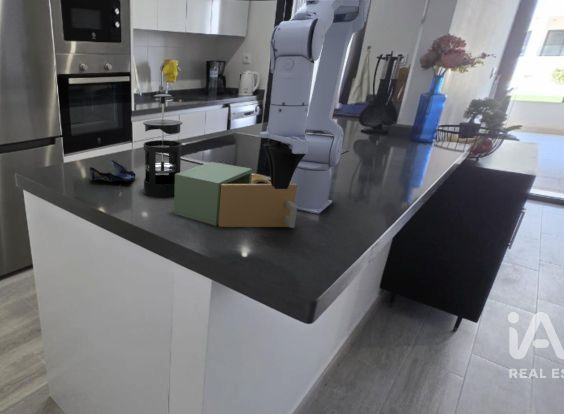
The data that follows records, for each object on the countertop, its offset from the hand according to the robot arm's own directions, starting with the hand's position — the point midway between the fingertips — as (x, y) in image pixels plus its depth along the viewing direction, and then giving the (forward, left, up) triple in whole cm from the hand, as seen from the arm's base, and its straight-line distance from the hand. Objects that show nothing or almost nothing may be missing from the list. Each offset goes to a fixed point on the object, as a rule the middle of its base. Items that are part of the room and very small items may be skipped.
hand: (279, 187), depth 65 cm
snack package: (-7, -48, -10) cm, 49 cm away
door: (-1, -4, -9) cm, 10 cm away
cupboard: (-5, -16, -9) cm, 19 cm away
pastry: (-24, -16, -10) cm, 30 cm away
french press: (-8, -32, -10) cm, 34 cm away
